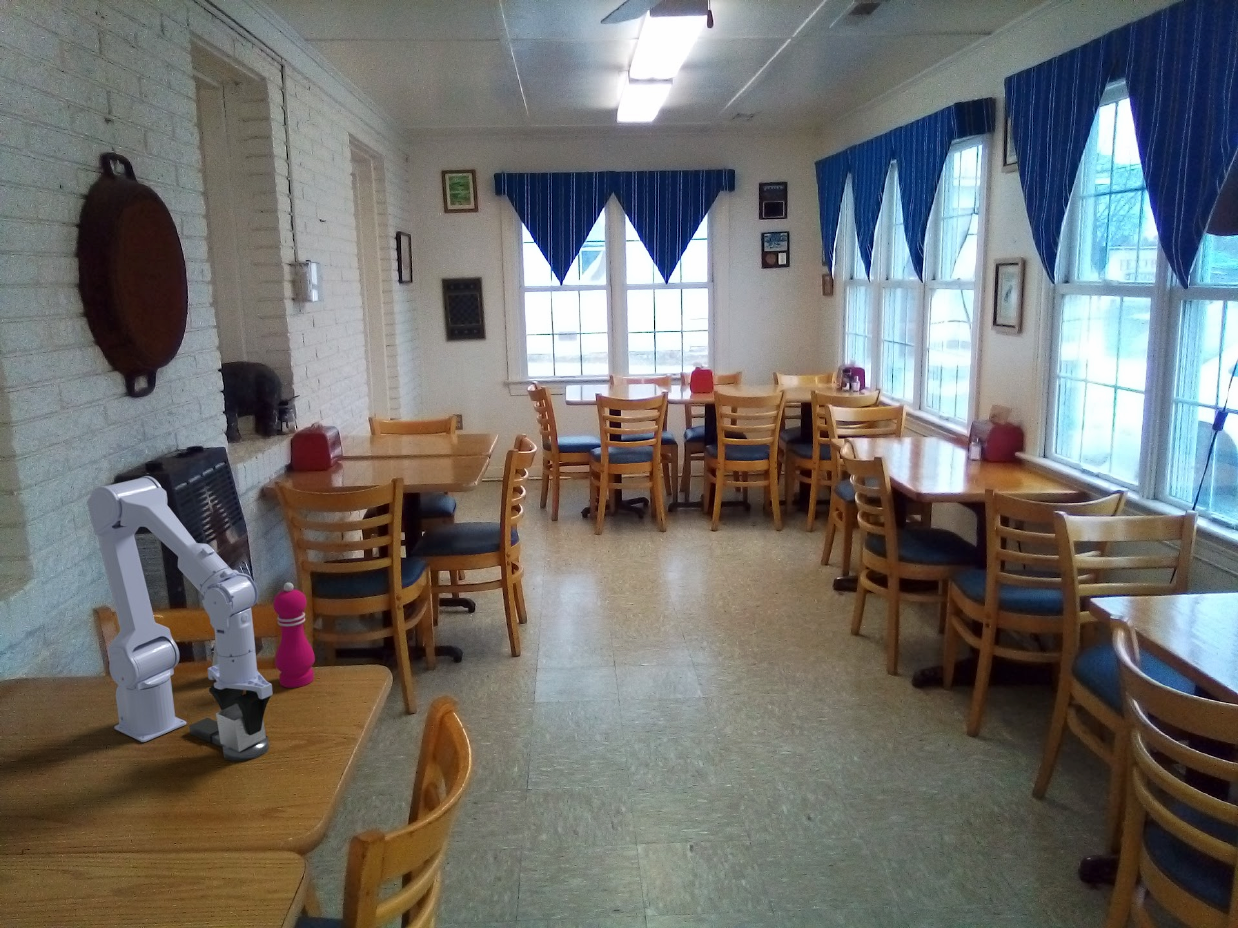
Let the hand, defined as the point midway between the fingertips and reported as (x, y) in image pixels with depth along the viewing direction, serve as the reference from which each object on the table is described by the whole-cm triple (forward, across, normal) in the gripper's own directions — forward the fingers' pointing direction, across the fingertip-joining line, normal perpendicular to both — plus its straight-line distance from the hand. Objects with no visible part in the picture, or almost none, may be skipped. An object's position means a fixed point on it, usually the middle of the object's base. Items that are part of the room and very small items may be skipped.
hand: (244, 728), depth 152 cm
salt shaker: (+4, -29, +16) cm, 33 cm away
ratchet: (+4, -5, 0) cm, 7 cm away
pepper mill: (+4, -16, +22) cm, 28 cm away
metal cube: (+2, 0, 0) cm, 2 cm away
